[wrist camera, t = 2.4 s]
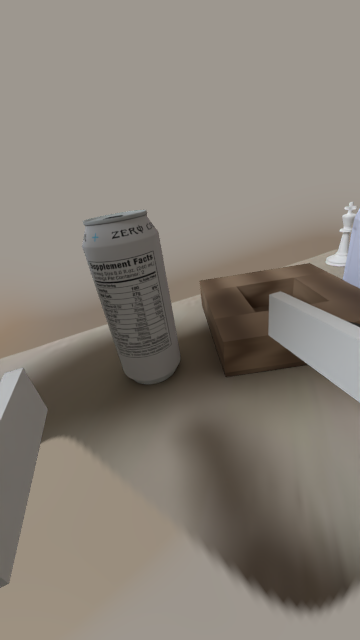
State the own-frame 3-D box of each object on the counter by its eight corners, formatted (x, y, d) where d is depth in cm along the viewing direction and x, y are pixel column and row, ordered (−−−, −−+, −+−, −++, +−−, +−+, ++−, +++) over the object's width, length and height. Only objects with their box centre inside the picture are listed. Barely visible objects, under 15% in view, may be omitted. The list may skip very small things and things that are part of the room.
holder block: (225, 377, 23) (223, 341, 21) (202, 305, 37) (199, 280, 35) (396, 351, 22) (409, 313, 21) (306, 289, 36) (309, 263, 35)
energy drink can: (184, 349, 28) (161, 206, 20) (177, 388, 22) (142, 214, 15) (134, 351, 29) (95, 216, 21) (117, 389, 23) (57, 227, 16)
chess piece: (333, 256, 47) (343, 200, 42) (362, 260, 43) (376, 199, 39) (320, 263, 45) (328, 205, 40) (349, 268, 41) (361, 204, 36)
